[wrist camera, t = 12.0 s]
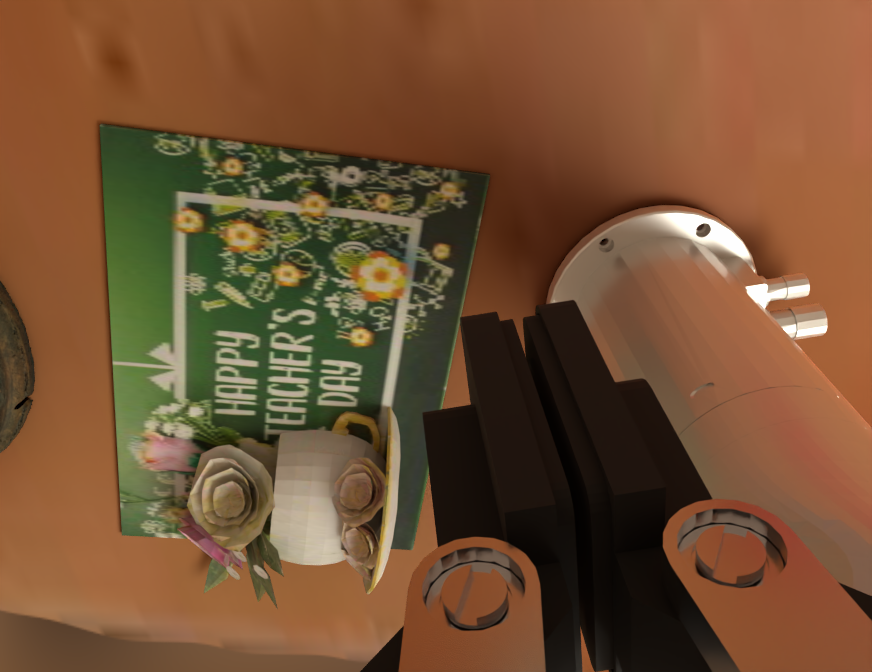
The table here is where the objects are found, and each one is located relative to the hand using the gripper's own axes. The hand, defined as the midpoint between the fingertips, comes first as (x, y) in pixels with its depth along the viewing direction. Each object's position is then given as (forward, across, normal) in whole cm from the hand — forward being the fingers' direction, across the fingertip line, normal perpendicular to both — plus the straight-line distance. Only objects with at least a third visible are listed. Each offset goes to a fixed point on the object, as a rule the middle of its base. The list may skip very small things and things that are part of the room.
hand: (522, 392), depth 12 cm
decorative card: (+32, +11, +21) cm, 40 cm away
